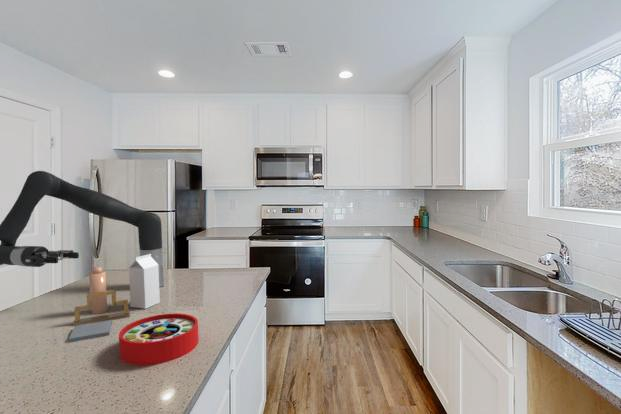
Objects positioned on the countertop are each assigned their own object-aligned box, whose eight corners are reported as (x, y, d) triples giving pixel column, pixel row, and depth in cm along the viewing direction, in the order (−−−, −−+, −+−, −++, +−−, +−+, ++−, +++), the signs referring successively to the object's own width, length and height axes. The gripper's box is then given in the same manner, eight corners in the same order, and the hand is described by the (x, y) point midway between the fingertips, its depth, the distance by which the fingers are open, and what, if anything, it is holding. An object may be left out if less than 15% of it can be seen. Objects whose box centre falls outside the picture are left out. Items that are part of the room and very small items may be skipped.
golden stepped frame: (129, 314, 118) (128, 287, 117) (129, 316, 115) (128, 289, 115) (75, 322, 111) (73, 294, 110) (73, 325, 108) (71, 296, 108)
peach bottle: (108, 307, 124) (105, 265, 123) (106, 312, 120) (104, 268, 119) (92, 310, 122) (89, 266, 121) (90, 314, 118) (87, 269, 117)
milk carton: (160, 303, 129) (158, 254, 128) (145, 309, 122) (143, 258, 121) (145, 301, 131) (143, 253, 130) (130, 307, 125) (128, 256, 124)
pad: (111, 323, 110) (111, 320, 110) (109, 335, 101) (109, 331, 101) (75, 329, 105) (74, 326, 105) (68, 342, 96) (68, 338, 96)
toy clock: (102, 344, 83) (141, 314, 103) (103, 367, 83) (141, 332, 103) (183, 342, 83) (206, 312, 103) (184, 365, 84) (207, 331, 104)
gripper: (9, 249, 117) (49, 250, 114) (47, 243, 131) (84, 244, 128) (10, 270, 117) (50, 272, 114) (48, 262, 131) (84, 263, 128)
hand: (68, 257), depth 121 cm, fingers open, 8 cm apart
